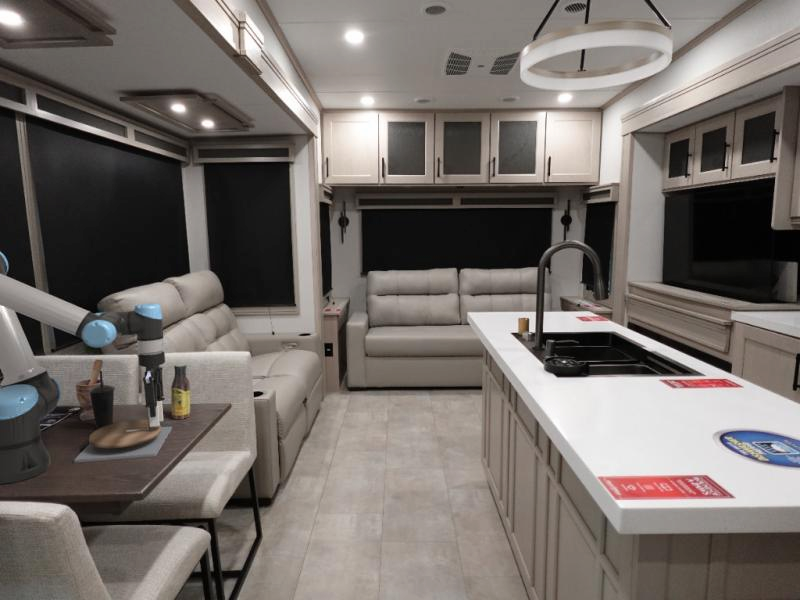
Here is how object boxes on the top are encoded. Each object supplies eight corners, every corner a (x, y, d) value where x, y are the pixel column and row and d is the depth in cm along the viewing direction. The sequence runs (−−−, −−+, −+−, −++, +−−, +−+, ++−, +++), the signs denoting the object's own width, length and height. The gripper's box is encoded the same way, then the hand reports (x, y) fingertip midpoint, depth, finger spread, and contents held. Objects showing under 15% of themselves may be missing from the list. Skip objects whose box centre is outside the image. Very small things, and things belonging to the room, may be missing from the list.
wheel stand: (74, 462, 146) (74, 459, 146) (101, 433, 167) (101, 431, 167) (155, 456, 151) (155, 453, 151) (171, 428, 172) (171, 426, 172)
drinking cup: (122, 423, 176) (118, 368, 174) (107, 431, 169) (103, 374, 166) (101, 422, 177) (98, 367, 174) (86, 430, 169) (82, 373, 167)
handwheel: (80, 457, 147) (77, 417, 145) (101, 432, 166) (98, 396, 164) (155, 450, 152) (153, 412, 151) (166, 426, 171) (164, 392, 170)
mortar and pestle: (82, 411, 187) (79, 359, 185) (109, 409, 191) (105, 358, 188) (75, 422, 177) (71, 367, 174) (103, 419, 180) (100, 365, 177)
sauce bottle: (168, 418, 182) (165, 365, 179) (182, 413, 187) (180, 361, 185) (180, 421, 179) (177, 367, 176) (194, 416, 184) (192, 363, 182)
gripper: (156, 357, 151) (162, 431, 153) (170, 346, 167) (175, 413, 170) (129, 358, 149) (135, 434, 152) (146, 347, 166) (151, 415, 168)
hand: (156, 423), depth 161 cm, fingers open, 4 cm apart
